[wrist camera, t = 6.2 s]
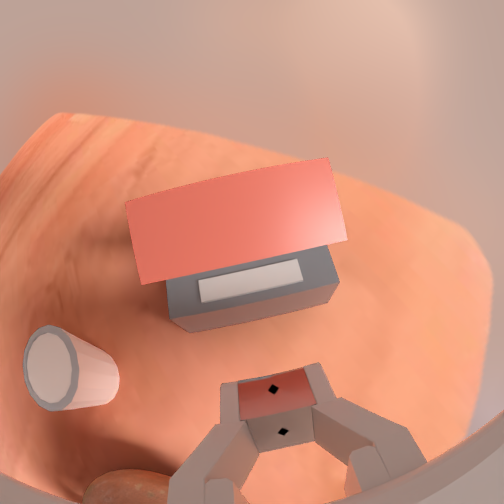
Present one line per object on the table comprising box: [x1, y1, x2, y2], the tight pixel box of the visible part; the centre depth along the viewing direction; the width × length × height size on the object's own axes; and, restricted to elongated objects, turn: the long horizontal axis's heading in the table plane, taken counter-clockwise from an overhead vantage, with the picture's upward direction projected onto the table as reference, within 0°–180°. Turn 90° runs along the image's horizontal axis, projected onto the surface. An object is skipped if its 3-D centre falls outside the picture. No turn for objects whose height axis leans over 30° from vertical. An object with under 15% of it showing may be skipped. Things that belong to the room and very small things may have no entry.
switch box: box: [166, 245, 340, 333], centre depth 22 cm, size 10×12×8 cm
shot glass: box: [23, 325, 120, 412], centre depth 18 cm, size 7×7×7 cm
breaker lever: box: [125, 158, 347, 285], centre depth 14 cm, size 3×6×13 cm, turn 102°
